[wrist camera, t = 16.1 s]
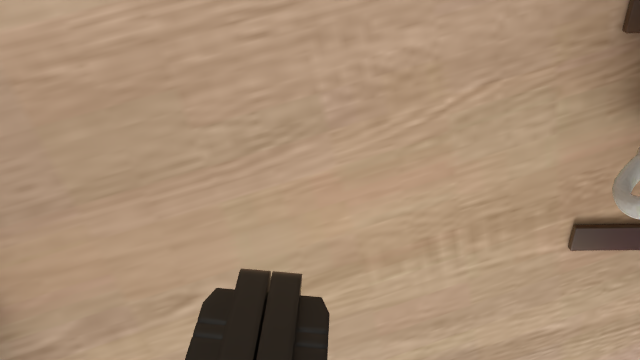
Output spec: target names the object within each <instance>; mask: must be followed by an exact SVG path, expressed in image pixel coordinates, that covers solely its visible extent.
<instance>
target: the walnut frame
mask: <svg viewBox="0 0 640 360" xmlns="http://www.w3.org/2000/svg"><path fill="white" fill-rule="evenodd" d="M623 31H624V32H625V33H640V0H630V3H629V7H628V11H627V15H626V19H625V23H624V27H623ZM568 247H569V249H570V250H571V251H582V250H640V224H598V225H574V226H573V230H572V234H571V238H570V242H569V245H568Z"/></svg>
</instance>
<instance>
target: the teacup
mask: <svg viewBox="0 0 640 360" xmlns="http://www.w3.org/2000/svg"><path fill="white" fill-rule="evenodd" d="M639 180H640V147H639V148H638V151H637V155H636V156H635V157H634V158H633V159H632V160H631V161H630V162H629V163H628V164H627V165H626V166H625V167H624V168H623V169H622V170H621V171H620V173H619V174H618V175H617V177H616V178H615V180H614V184H613V188H612V191H613V197H614V200H615V202H616V204H617V206H618V208H619V209H620V210H621V211H622V212H623V213H625V214H626V215H628V216H630V217H632V218H635V219H640V197H639V196H634V195H632V194H631V192H632V189H633V187H634V186H635V185H636V184H637V183H638V182H639Z"/></svg>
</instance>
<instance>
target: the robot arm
mask: <svg viewBox="0 0 640 360" xmlns="http://www.w3.org/2000/svg"><path fill="white" fill-rule="evenodd" d="M301 282H302V274H297V273H286V272H275V271H273V272H272V277H271V271H262V270H251V269H241V270H240V272H239V276H238V280H237V284H236V288H235V290H233V289H222V288H216V289H215V290H214V291H213V292H212V293H211V295H210V296H209V297H208V298H207V299H206V300H205V301H204V302H203V304H202V308H201V311H200V314H199V317H198V322H197V323H196V326H195V330H194V333H193V337H192V339H191V342H190V345H189V348H188V352H187V355H186V358H185V360H327V353H328V332H329V312H328V310H327V308H326V306H325V304H324V302H323V299H322V297H311V296H301Z"/></svg>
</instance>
